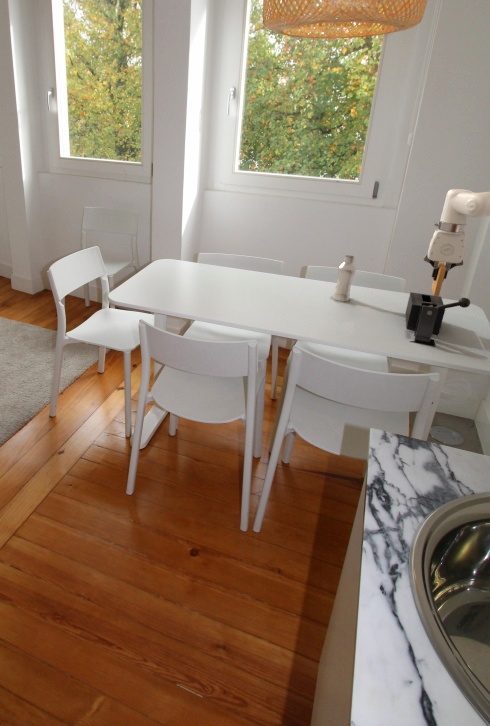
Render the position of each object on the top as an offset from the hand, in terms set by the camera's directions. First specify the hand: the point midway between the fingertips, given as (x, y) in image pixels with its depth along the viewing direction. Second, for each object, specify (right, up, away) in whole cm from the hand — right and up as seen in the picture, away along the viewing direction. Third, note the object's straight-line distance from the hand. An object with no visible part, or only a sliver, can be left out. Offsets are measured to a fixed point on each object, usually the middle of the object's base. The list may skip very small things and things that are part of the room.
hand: (438, 279), depth 162 cm
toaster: (-2, -17, +8) cm, 19 cm away
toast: (0, -4, +2) cm, 5 cm away
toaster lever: (-3, -11, -10) cm, 15 cm away
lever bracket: (-8, -22, -3) cm, 23 cm away
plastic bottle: (-22, -8, +31) cm, 38 cm away
